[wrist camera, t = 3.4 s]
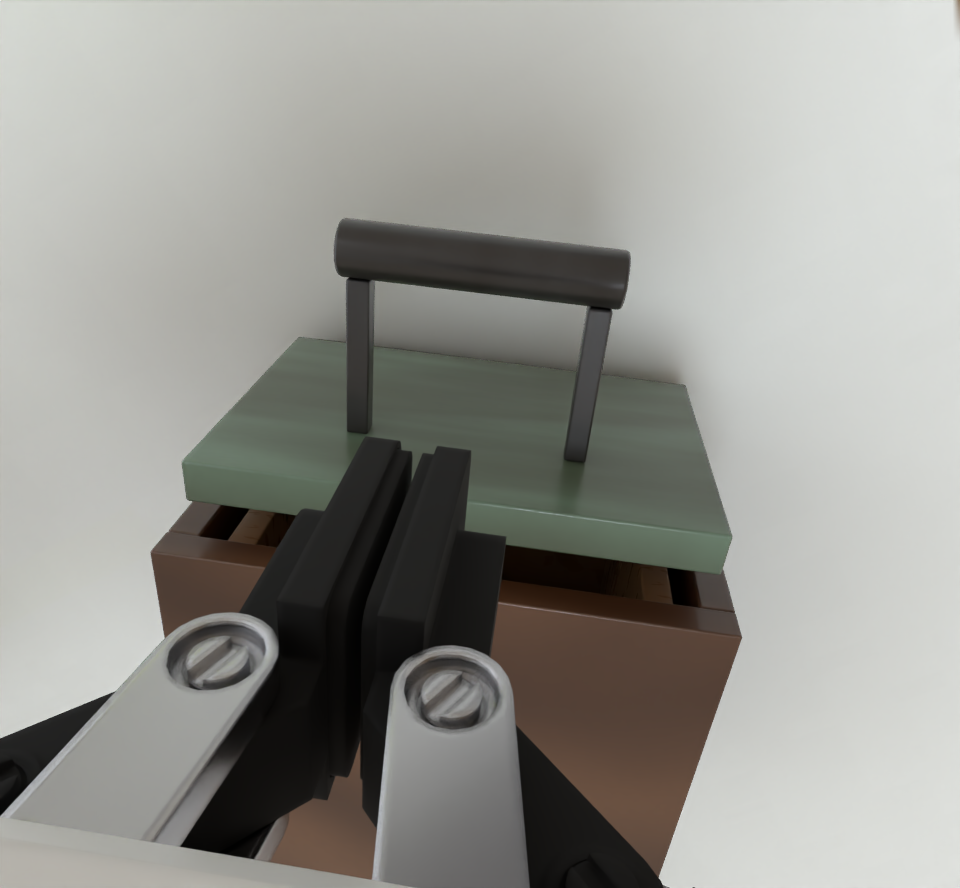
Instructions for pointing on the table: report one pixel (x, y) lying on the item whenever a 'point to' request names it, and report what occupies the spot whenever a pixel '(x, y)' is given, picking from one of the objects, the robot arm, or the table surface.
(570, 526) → the drawer
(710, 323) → the table surface
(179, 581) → the cabinet
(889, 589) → the table surface
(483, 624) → the robot arm
